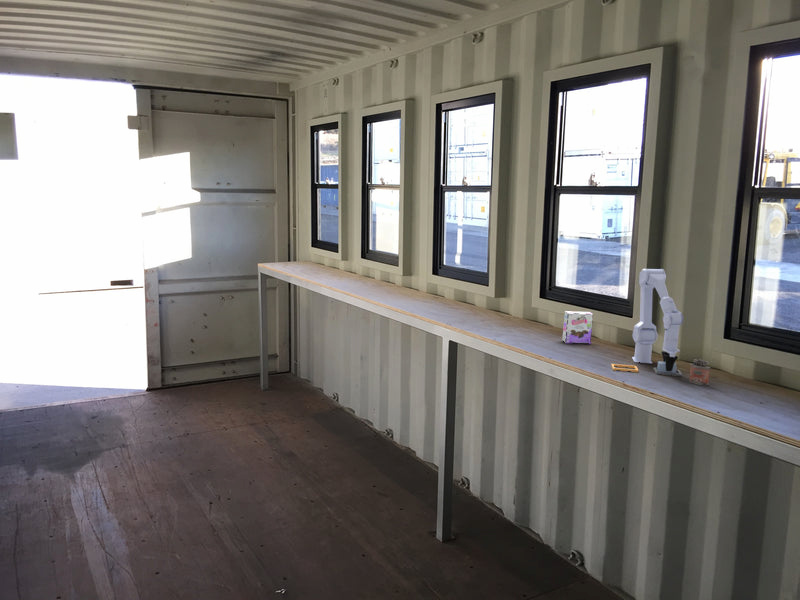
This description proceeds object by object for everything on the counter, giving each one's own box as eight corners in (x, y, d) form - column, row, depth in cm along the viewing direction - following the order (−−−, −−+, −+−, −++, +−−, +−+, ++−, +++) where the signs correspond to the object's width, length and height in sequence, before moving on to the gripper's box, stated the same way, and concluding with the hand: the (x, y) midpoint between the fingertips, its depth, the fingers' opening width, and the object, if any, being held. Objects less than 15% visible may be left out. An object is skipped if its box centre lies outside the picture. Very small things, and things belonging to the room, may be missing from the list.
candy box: (565, 343, 335) (567, 312, 332) (561, 341, 340) (564, 310, 338) (591, 344, 335) (593, 313, 333) (587, 341, 341) (589, 311, 339)
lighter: (686, 381, 269) (689, 358, 267) (690, 380, 271) (693, 357, 269) (706, 386, 263) (708, 362, 261) (709, 384, 265) (712, 361, 263)
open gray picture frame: (653, 369, 287) (653, 367, 286) (678, 371, 284) (678, 369, 284) (656, 374, 279) (656, 371, 279) (682, 376, 276) (682, 374, 276)
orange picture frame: (611, 365, 291) (611, 363, 290) (635, 368, 288) (636, 365, 288) (613, 370, 283) (613, 368, 283) (638, 372, 280) (638, 370, 280)
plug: (657, 371, 285) (658, 359, 284) (673, 372, 283) (675, 360, 282) (658, 373, 280) (659, 361, 279) (675, 375, 279) (676, 363, 278)
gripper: (684, 343, 271) (680, 374, 273) (677, 336, 285) (674, 366, 287) (666, 342, 273) (663, 372, 275) (660, 335, 287) (657, 364, 289)
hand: (667, 369), depth 281 cm, fingers closed on plug, 4 cm apart
